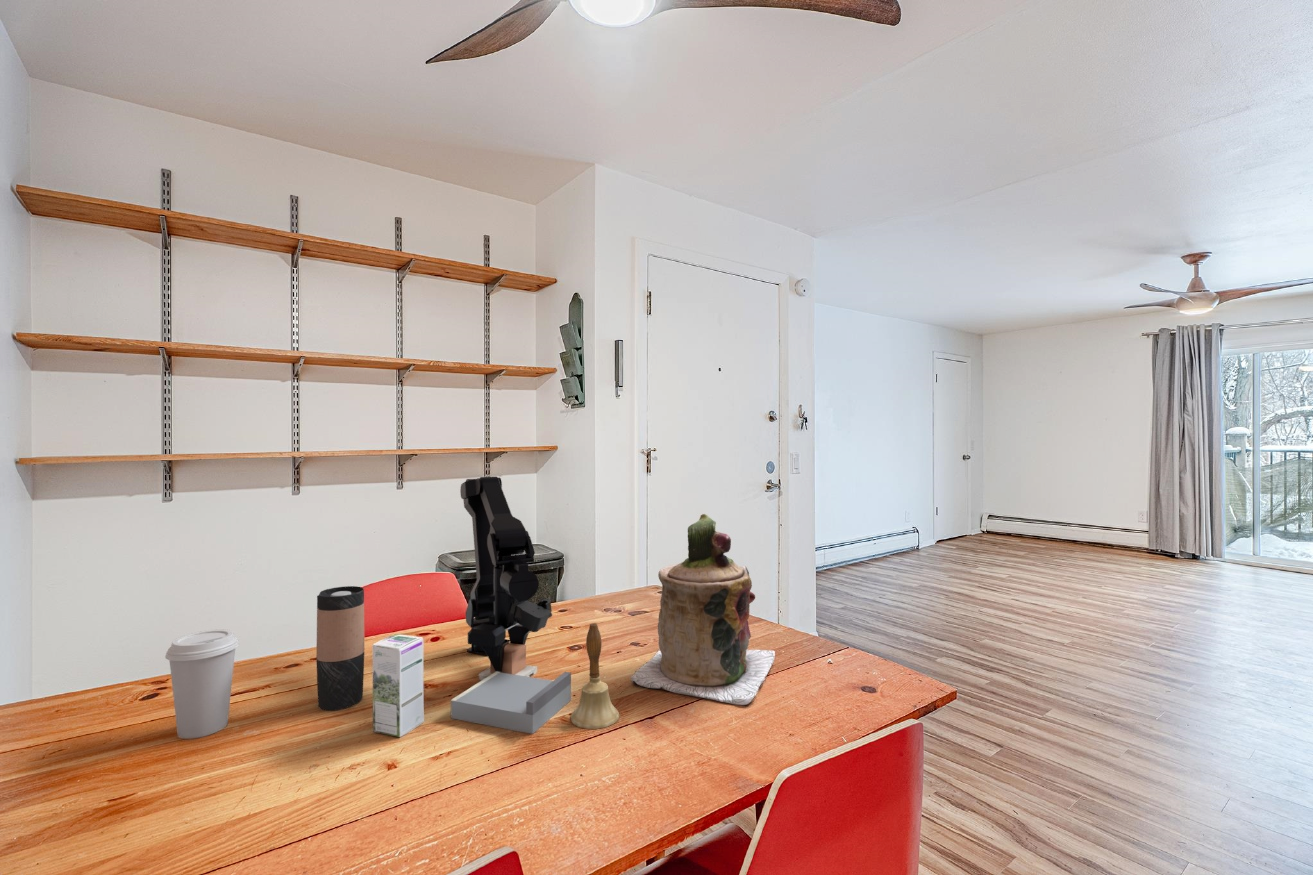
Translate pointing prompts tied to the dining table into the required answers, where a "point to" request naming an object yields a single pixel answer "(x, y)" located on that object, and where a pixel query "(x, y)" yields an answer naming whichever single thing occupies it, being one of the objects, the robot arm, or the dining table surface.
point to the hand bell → (594, 691)
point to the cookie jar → (706, 625)
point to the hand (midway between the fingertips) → (508, 666)
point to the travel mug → (340, 647)
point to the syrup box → (398, 684)
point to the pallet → (512, 662)
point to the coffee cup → (202, 681)
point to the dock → (512, 701)
